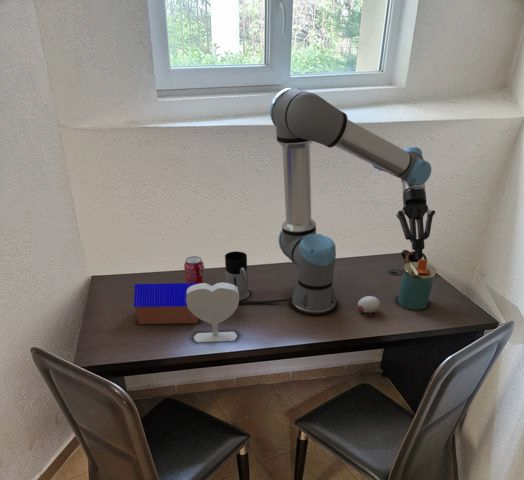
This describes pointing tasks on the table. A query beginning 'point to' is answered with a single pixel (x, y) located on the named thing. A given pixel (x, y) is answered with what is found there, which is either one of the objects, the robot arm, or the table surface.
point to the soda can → (194, 270)
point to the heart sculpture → (213, 308)
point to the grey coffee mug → (237, 272)
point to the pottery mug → (410, 256)
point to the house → (163, 303)
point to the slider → (422, 267)
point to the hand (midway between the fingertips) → (419, 258)
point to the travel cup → (415, 286)
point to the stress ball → (368, 304)
